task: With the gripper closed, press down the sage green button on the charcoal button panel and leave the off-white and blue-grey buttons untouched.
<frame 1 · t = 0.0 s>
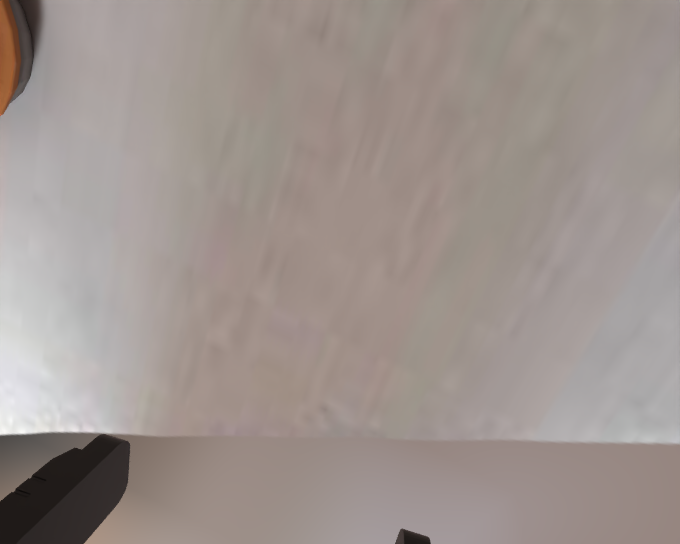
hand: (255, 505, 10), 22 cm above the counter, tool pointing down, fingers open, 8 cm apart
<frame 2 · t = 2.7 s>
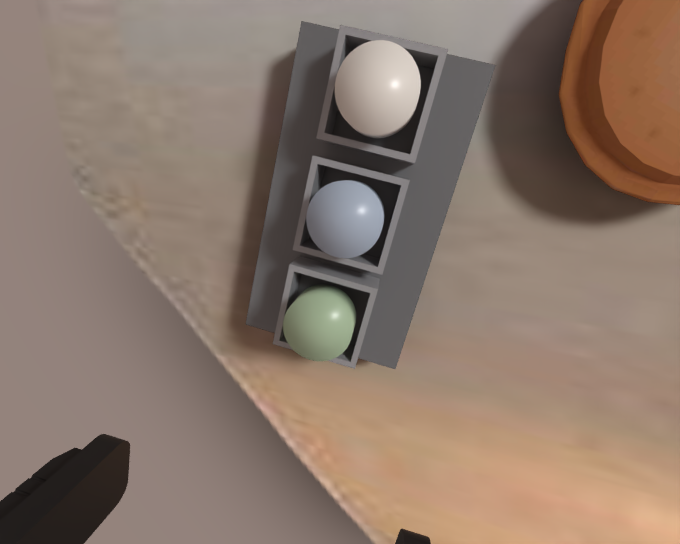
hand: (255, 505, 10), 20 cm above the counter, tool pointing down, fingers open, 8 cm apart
pie: (668, 76, 23), on the counter
green button: (320, 321, 24), point 6 cm above the counter, slide at 0.0 cm
white button: (378, 93, 20), point 6 cm above the counter, slide at 0.0 cm
bluegrey button: (346, 218, 22), point 6 cm above the counter, slide at 0.0 cm
button panel: (357, 208, 28), on the counter
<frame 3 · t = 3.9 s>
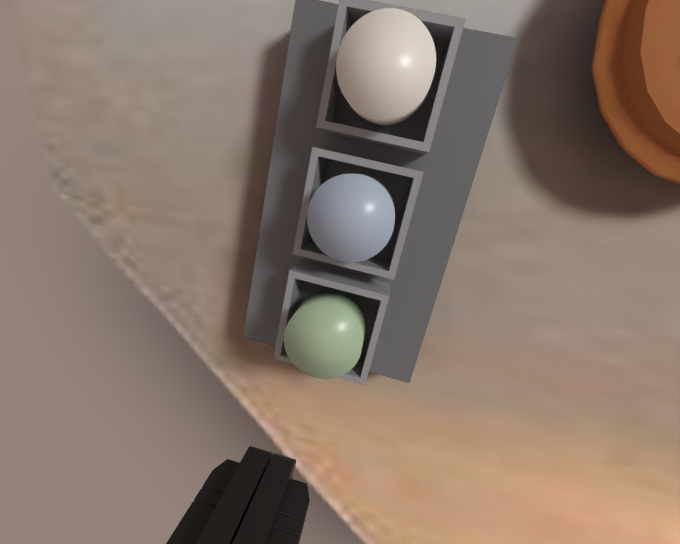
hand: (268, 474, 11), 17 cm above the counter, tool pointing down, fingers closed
green button: (326, 334, 21), point 6 cm above the counter, slide at 0.0 cm
white button: (385, 72, 17), point 6 cm above the counter, slide at 0.0 cm
bluegrey button: (352, 216, 19), point 6 cm above the counter, slide at 0.0 cm
button panel: (363, 206, 25), on the counter
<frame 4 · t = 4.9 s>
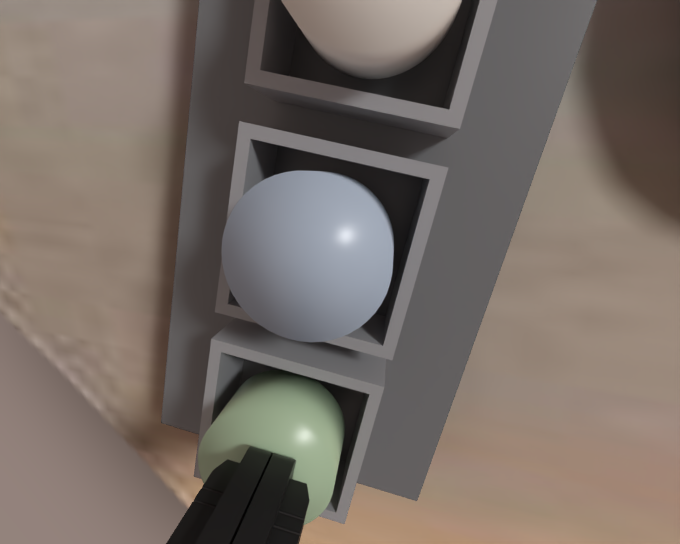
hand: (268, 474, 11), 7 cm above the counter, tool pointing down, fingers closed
green button: (276, 445, 12), point 6 cm above the counter, slide at 0.2 cm, touching gripper
bluegrey button: (314, 251, 10), point 6 cm above the counter, slide at 0.0 cm
button panel: (345, 223, 16), on the counter
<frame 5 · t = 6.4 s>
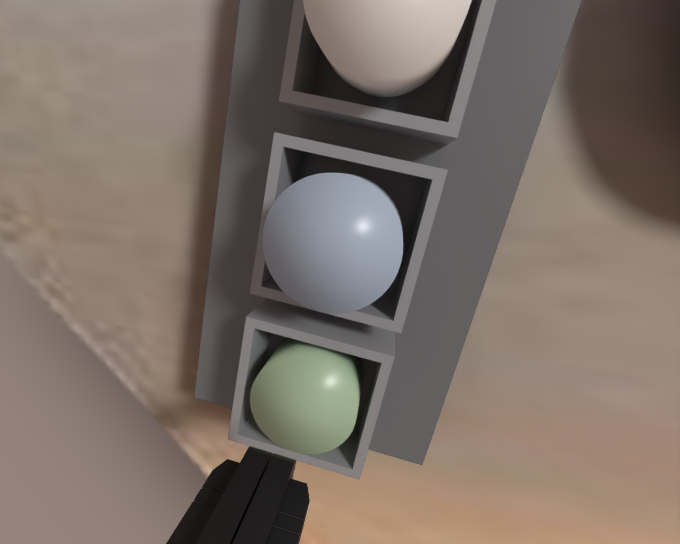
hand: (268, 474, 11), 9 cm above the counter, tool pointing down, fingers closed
green button: (309, 390, 16), point 5 cm above the counter, slide at 1.5 cm
white button: (387, 4, 10), point 6 cm above the counter, slide at 0.0 cm
bluegrey button: (337, 240, 12), point 6 cm above the counter, slide at 0.0 cm
button panel: (357, 219, 18), on the counter
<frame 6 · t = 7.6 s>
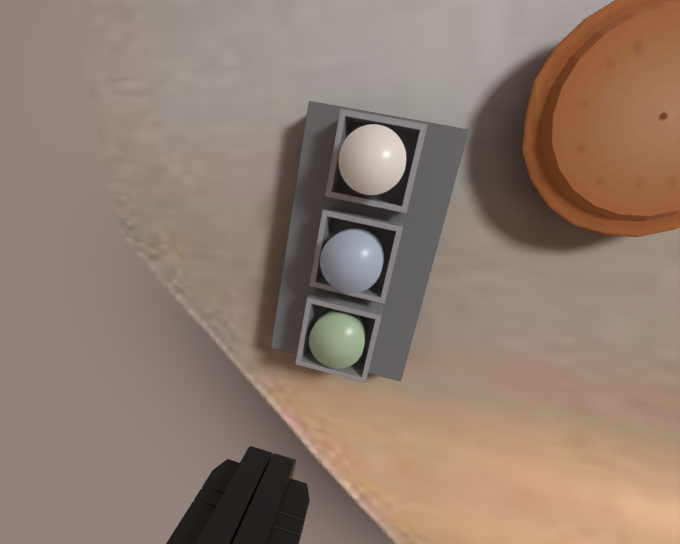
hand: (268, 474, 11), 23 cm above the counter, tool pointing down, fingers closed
pie: (617, 127, 28), on the counter
green button: (338, 337, 30), point 5 cm above the counter, slide at 1.5 cm
white button: (373, 161, 25), point 6 cm above the counter, slide at 0.0 cm
bluegrey button: (352, 259, 27), point 6 cm above the counter, slide at 0.0 cm
button panel: (362, 245, 33), on the counter
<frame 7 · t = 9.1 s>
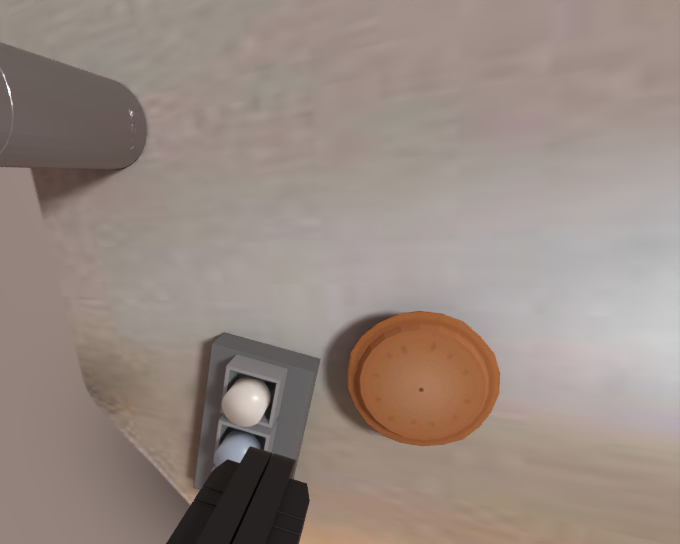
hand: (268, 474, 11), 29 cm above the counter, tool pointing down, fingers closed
pie: (418, 364, 41), on the counter
white button: (246, 401, 38), point 6 cm above the counter, slide at 0.0 cm
bluegrey button: (238, 454, 40), point 6 cm above the counter, slide at 0.0 cm
button panel: (258, 418, 46), on the counter
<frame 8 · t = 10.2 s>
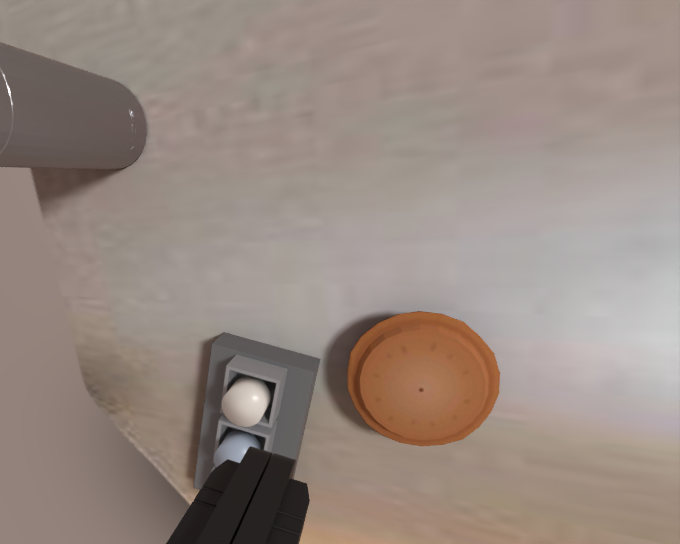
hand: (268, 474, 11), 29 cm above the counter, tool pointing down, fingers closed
pie: (418, 364, 41), on the counter
white button: (246, 401, 38), point 6 cm above the counter, slide at 0.0 cm
bluegrey button: (237, 454, 40), point 6 cm above the counter, slide at 0.0 cm
button panel: (258, 418, 46), on the counter
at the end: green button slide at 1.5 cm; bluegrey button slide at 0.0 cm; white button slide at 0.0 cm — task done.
